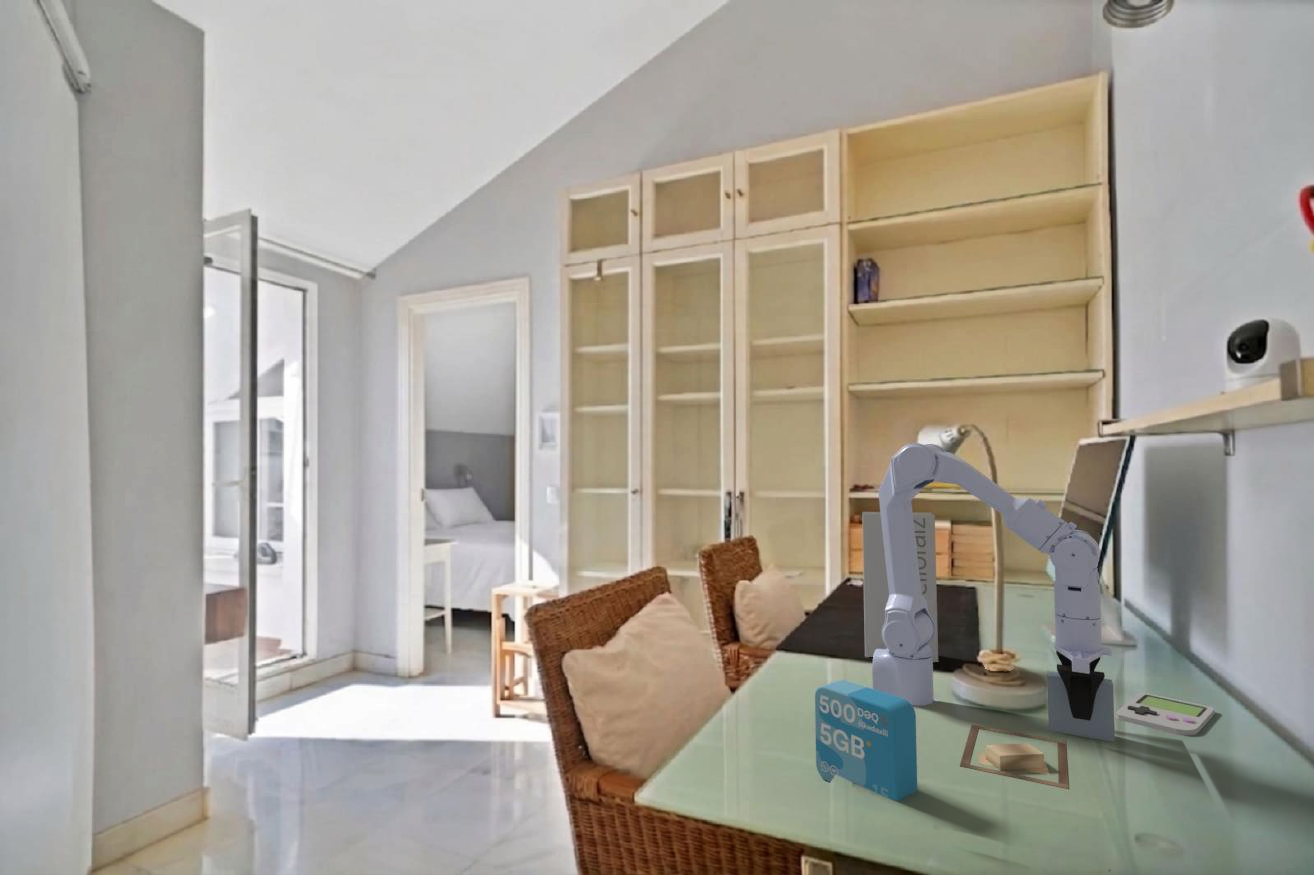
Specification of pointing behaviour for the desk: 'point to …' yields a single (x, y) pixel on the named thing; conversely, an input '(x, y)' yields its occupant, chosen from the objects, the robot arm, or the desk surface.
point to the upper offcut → (1014, 756)
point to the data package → (866, 738)
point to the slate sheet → (1065, 723)
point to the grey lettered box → (878, 581)
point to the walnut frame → (966, 760)
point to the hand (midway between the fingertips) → (1080, 709)
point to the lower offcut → (1037, 770)
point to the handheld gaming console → (1166, 714)
